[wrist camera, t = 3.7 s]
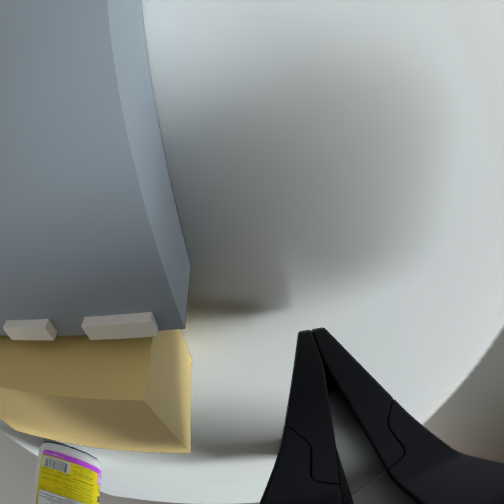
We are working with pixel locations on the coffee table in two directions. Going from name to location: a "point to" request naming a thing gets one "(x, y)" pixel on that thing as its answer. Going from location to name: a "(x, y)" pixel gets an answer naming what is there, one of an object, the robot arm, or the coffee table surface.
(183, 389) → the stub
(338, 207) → the coffee table surface
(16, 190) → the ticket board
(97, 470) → the supplement bottle
